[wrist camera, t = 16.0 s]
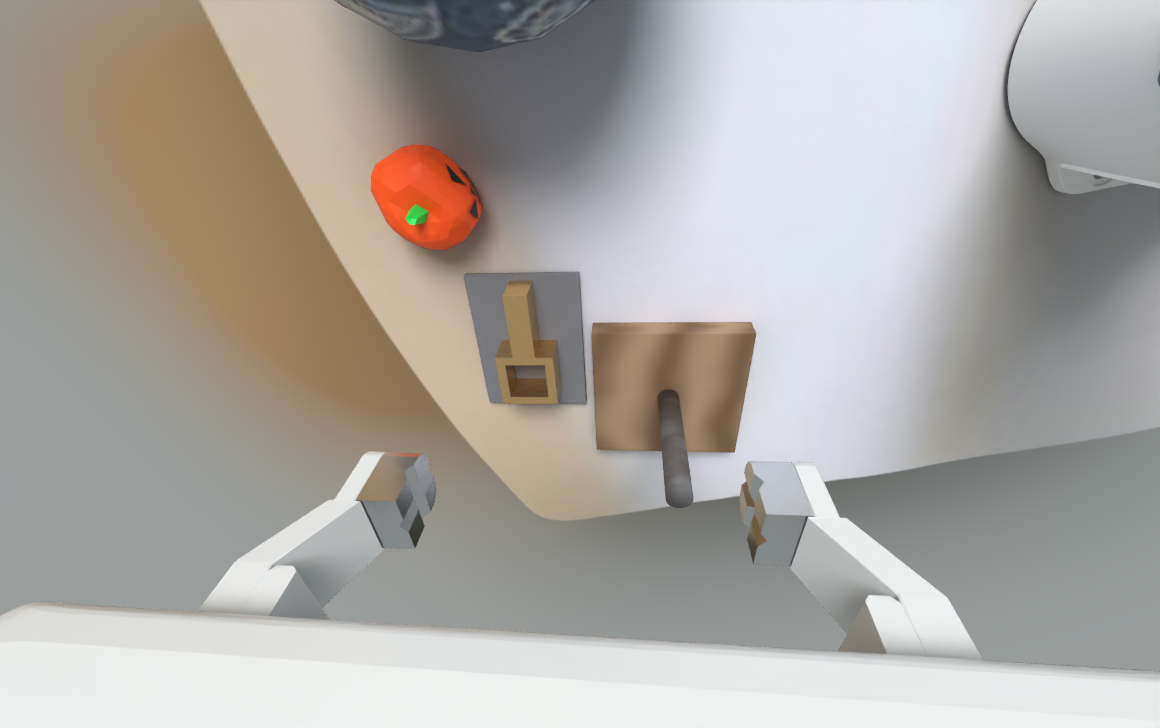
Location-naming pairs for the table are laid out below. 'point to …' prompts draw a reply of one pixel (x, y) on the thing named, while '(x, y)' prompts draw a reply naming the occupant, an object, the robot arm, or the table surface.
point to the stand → (671, 391)
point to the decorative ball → (467, 20)
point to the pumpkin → (426, 197)
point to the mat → (555, 322)
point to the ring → (526, 350)
